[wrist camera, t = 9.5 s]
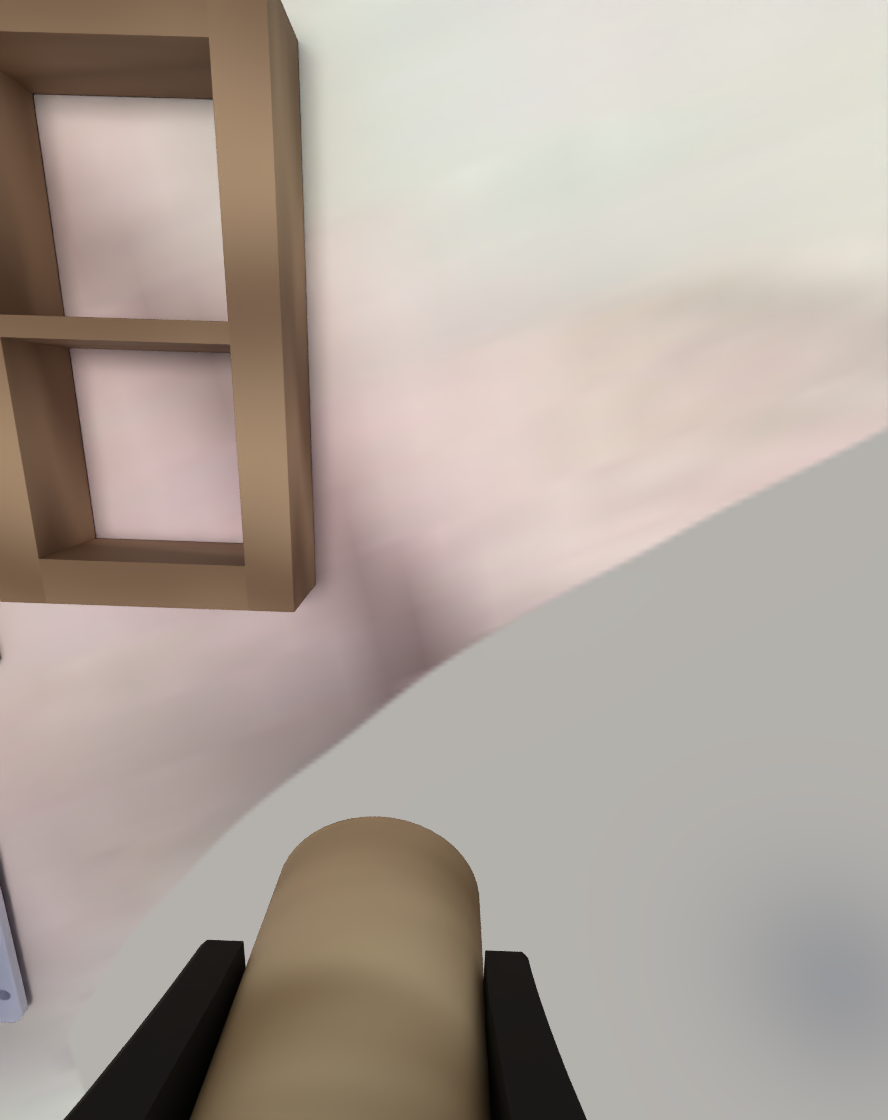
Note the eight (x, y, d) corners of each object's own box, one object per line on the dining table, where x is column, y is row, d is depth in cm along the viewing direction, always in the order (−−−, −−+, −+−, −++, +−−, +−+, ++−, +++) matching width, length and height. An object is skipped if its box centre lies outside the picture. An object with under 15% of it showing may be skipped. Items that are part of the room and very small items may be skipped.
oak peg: (474, 981, 11) (497, 1577, 6) (281, 974, 11) (104, 1562, 6) (484, 820, 10) (525, 1351, 4) (272, 811, 10) (41, 1330, 4)
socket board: (315, 584, 17) (293, 612, 15) (61, 575, 17) (0, 601, 15) (298, 40, 13) (265, -37, 11) (-28, 31, 13) (-127, -48, 11)
